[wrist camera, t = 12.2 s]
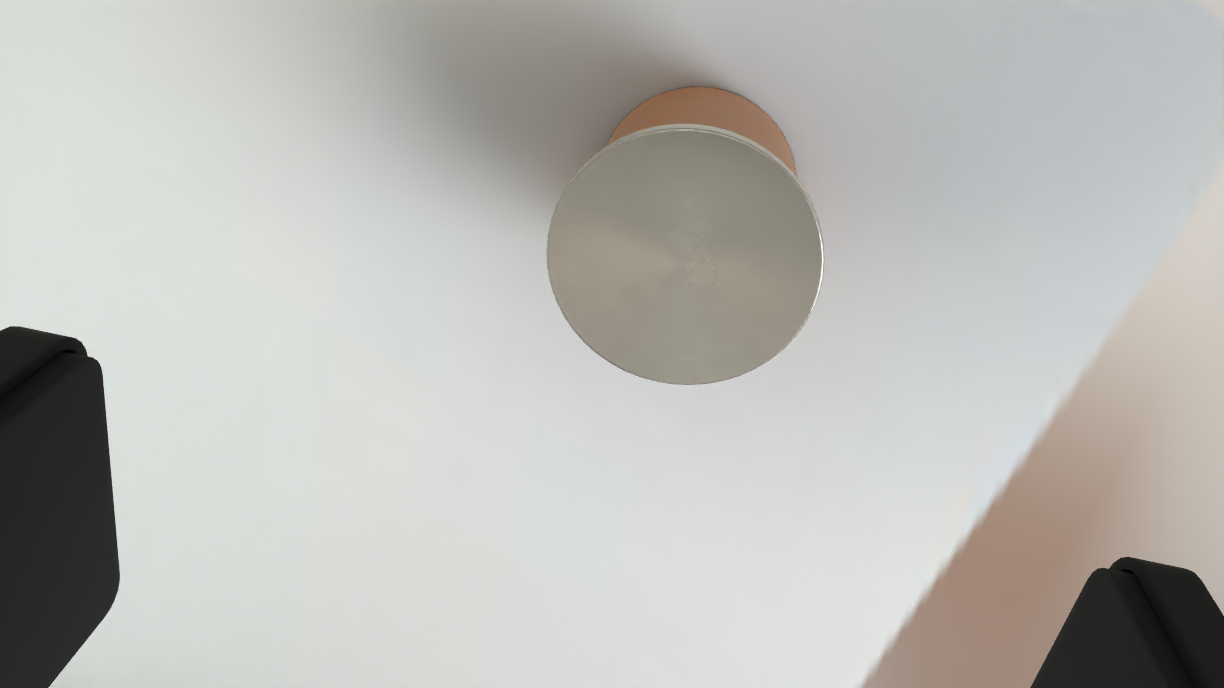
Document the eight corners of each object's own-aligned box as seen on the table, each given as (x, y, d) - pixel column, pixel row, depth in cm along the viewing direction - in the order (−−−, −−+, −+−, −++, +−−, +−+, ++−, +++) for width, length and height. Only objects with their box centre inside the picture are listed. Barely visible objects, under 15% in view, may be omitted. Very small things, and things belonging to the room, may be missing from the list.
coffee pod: (840, 96, 18) (860, 161, 14) (779, 308, 20) (784, 409, 17) (604, 48, 18) (568, 101, 15) (569, 263, 20) (529, 354, 17)
